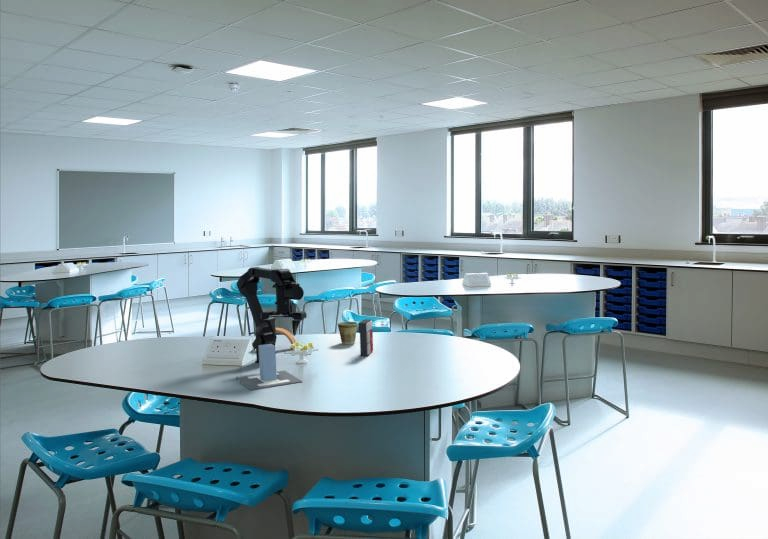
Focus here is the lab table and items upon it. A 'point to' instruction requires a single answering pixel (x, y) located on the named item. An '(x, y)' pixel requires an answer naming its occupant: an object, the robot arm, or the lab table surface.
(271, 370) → the blue block
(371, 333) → the black and red box
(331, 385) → the lab table surface
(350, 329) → the ceramic cup
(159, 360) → the lab table surface
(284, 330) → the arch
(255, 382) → the letter mat
